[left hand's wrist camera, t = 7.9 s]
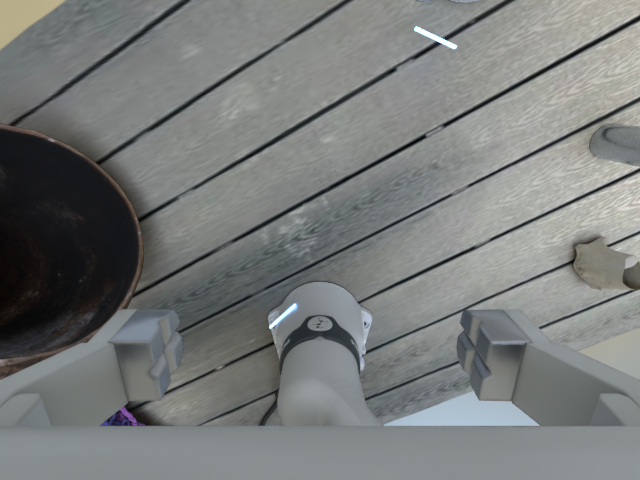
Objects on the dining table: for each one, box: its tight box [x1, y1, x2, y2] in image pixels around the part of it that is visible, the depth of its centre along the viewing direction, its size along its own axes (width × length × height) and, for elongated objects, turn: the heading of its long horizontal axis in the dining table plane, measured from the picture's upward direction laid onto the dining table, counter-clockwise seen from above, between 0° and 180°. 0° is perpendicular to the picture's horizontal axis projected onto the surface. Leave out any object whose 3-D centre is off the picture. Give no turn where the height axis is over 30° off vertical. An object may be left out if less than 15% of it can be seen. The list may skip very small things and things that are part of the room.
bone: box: [573, 237, 640, 291], centre depth 58 cm, size 9×8×10 cm
